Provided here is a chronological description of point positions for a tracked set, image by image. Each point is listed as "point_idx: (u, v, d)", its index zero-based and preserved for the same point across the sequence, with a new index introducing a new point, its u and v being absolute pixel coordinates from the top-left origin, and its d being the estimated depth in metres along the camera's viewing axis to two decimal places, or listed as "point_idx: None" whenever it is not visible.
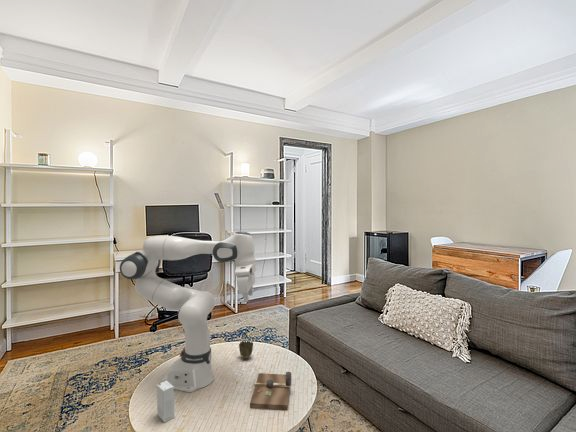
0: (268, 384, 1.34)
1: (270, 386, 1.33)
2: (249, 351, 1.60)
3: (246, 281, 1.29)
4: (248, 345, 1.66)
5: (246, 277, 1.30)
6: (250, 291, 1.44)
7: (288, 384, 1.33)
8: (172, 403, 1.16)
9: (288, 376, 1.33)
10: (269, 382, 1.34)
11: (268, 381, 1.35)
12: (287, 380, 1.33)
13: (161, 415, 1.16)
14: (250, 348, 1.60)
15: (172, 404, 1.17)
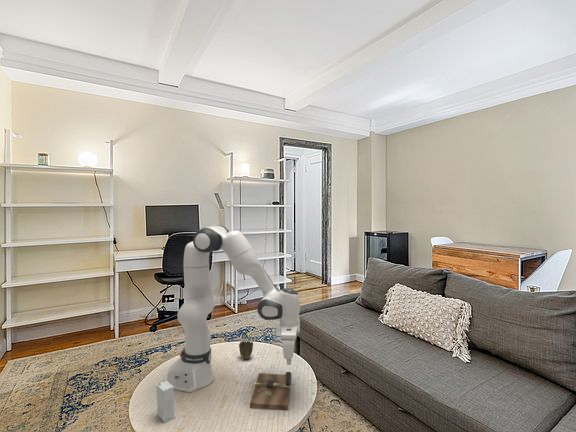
0: (268, 384, 1.34)
1: (270, 386, 1.33)
2: (249, 351, 1.60)
3: (292, 346, 1.24)
4: (248, 345, 1.66)
5: (292, 341, 1.25)
6: None
7: (288, 384, 1.33)
8: (172, 403, 1.16)
9: (288, 376, 1.33)
10: (269, 382, 1.34)
11: (268, 381, 1.35)
12: (287, 380, 1.33)
13: (161, 415, 1.16)
14: (250, 348, 1.60)
15: (172, 404, 1.17)
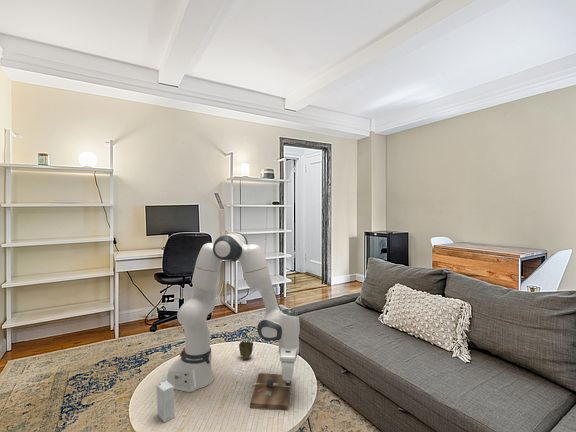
0: (268, 384, 1.34)
1: (270, 386, 1.33)
2: (249, 351, 1.60)
3: (291, 368, 1.24)
4: (248, 345, 1.66)
5: (292, 364, 1.25)
6: None
7: (288, 384, 1.33)
8: (172, 403, 1.16)
9: None
10: (269, 382, 1.34)
11: (268, 381, 1.35)
12: None
13: (161, 415, 1.16)
14: (250, 348, 1.60)
15: (172, 404, 1.17)
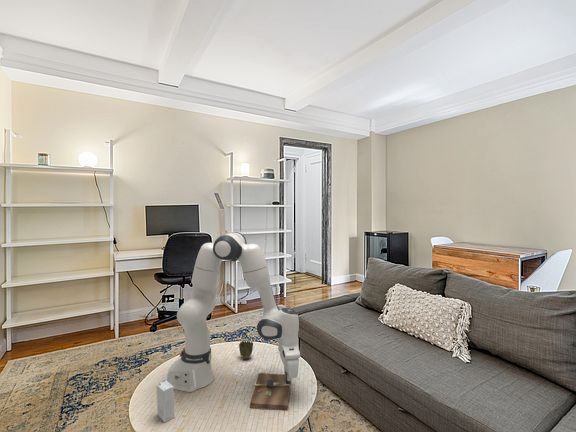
0: (269, 384, 1.33)
1: (271, 386, 1.34)
2: (249, 351, 1.60)
3: (297, 365, 1.27)
4: (248, 345, 1.66)
5: (297, 360, 1.28)
6: None
7: (288, 382, 1.35)
8: (172, 403, 1.16)
9: None
10: (269, 382, 1.34)
11: (268, 381, 1.35)
12: None
13: (161, 415, 1.16)
14: (250, 348, 1.60)
15: (172, 404, 1.17)
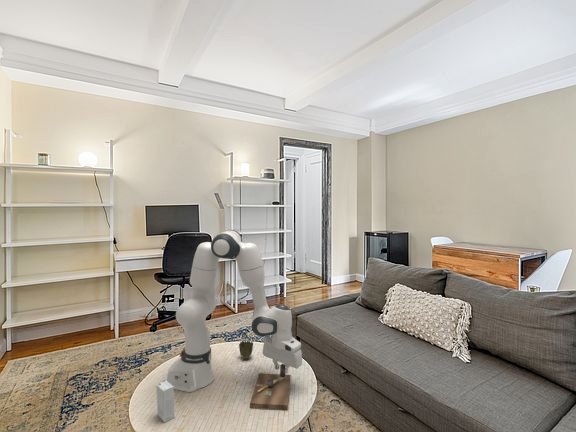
0: (271, 384, 1.34)
1: (272, 385, 1.34)
2: (249, 351, 1.60)
3: (301, 354, 1.36)
4: (248, 345, 1.66)
5: (300, 350, 1.37)
6: (277, 365, 1.42)
7: (284, 375, 1.40)
8: (172, 403, 1.16)
9: (284, 368, 1.40)
10: (270, 382, 1.34)
11: (269, 382, 1.34)
12: (283, 372, 1.40)
13: (161, 415, 1.16)
14: (250, 348, 1.60)
15: (172, 404, 1.17)
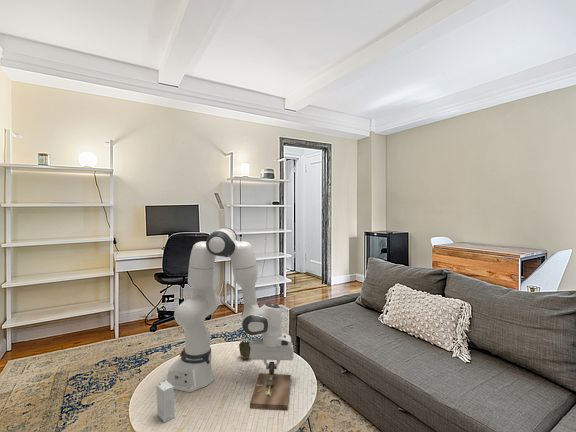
0: None
1: None
2: (249, 351, 1.60)
3: (292, 345, 1.44)
4: (248, 345, 1.66)
5: None
6: (268, 364, 1.43)
7: None
8: (172, 403, 1.16)
9: None
10: (271, 381, 1.34)
11: (270, 382, 1.34)
12: (273, 368, 1.42)
13: (161, 415, 1.16)
14: (250, 348, 1.60)
15: (172, 404, 1.17)
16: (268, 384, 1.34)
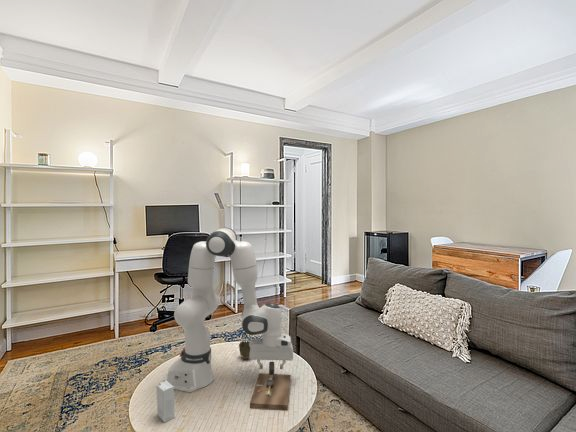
0: None
1: None
2: (249, 351, 1.60)
3: (292, 346, 1.44)
4: (248, 345, 1.66)
5: (290, 342, 1.44)
6: (261, 364, 1.43)
7: None
8: (172, 403, 1.16)
9: None
10: (271, 381, 1.34)
11: (270, 382, 1.34)
12: (273, 368, 1.42)
13: (161, 415, 1.16)
14: None
15: (172, 404, 1.17)
16: (268, 384, 1.34)
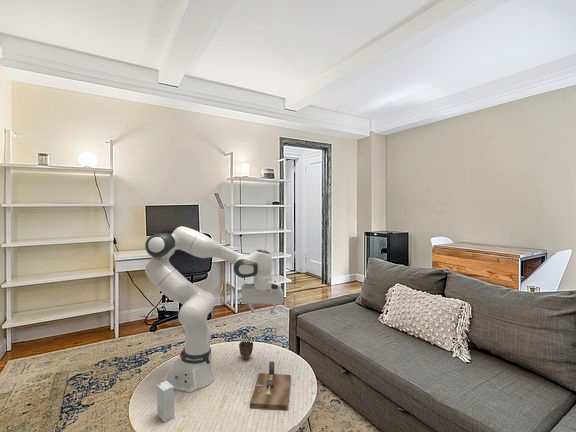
0: None
1: None
2: (249, 351, 1.60)
3: (282, 291, 1.51)
4: (248, 345, 1.66)
5: (281, 288, 1.51)
6: (253, 308, 1.49)
7: None
8: (172, 403, 1.16)
9: None
10: (271, 381, 1.34)
11: (270, 382, 1.34)
12: (273, 368, 1.42)
13: (161, 415, 1.16)
14: (250, 348, 1.60)
15: (172, 404, 1.17)
16: (268, 384, 1.34)
